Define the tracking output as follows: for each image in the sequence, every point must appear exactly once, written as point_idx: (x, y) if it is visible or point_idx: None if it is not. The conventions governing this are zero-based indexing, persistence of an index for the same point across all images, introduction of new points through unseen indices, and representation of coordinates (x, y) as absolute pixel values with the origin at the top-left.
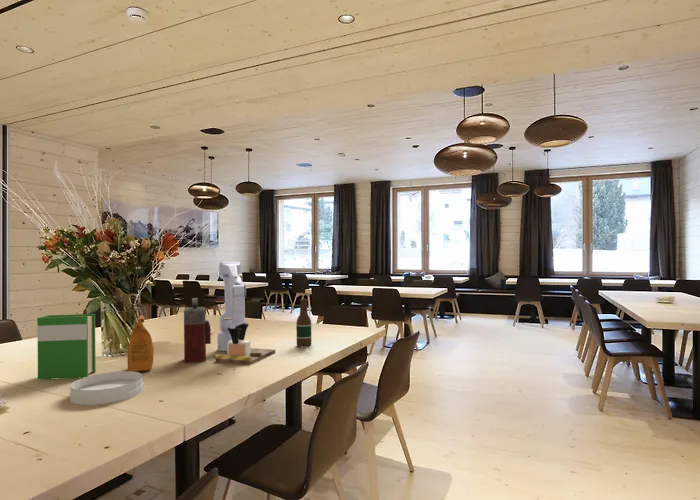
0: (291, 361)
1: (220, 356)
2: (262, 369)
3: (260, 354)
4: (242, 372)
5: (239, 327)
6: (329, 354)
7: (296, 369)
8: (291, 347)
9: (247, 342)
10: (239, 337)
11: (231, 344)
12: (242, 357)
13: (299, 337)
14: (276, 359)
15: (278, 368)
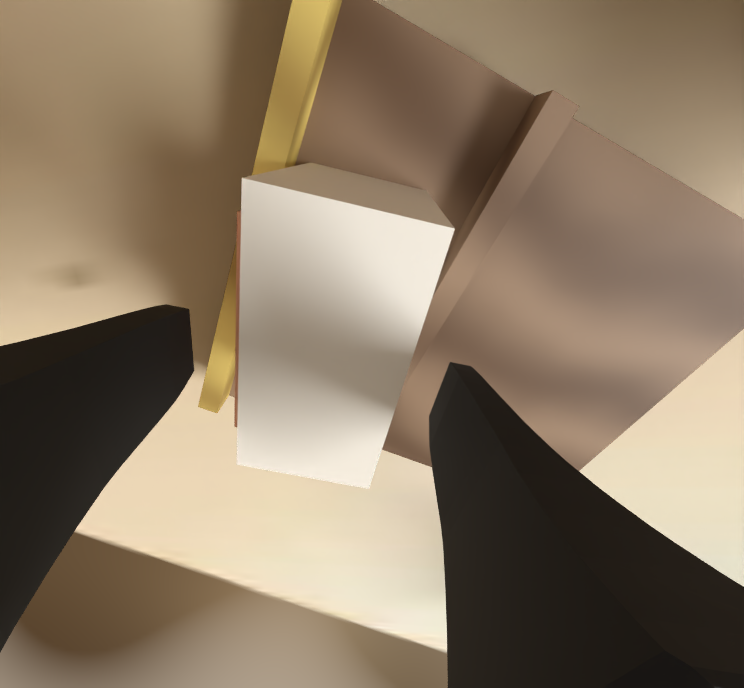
0: (298, 539)
1: (283, 60)
2: None
3: None
4: (17, 340)
5: (527, 621)
6: (408, 635)
7: (156, 548)
8: None
9: (262, 466)
10: (456, 394)
11: (236, 260)
12: (215, 340)
13: None
14: (349, 489)
15: (158, 496)
